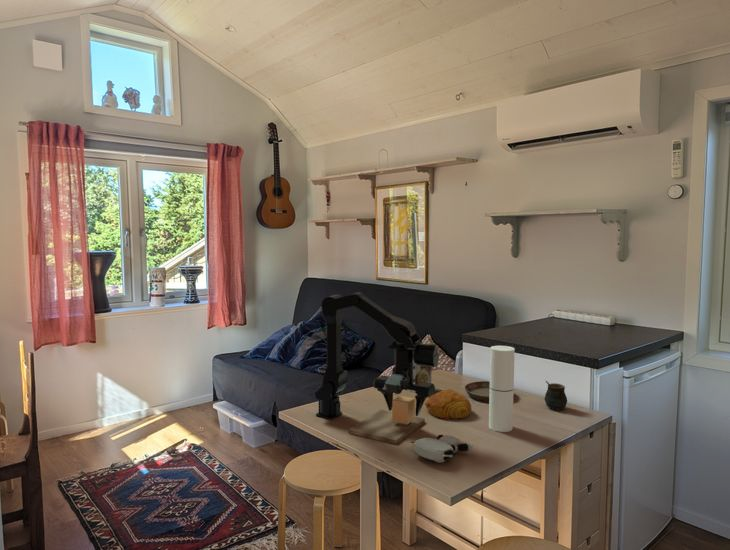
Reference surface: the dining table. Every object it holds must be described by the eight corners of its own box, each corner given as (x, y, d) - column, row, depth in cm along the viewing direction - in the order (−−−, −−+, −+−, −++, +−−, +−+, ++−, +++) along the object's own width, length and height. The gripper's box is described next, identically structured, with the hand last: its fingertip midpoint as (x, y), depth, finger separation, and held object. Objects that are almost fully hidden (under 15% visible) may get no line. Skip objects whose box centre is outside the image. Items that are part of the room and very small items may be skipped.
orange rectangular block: (392, 421, 164) (392, 400, 164) (399, 416, 169) (399, 395, 168) (407, 424, 162) (407, 403, 161) (414, 419, 166) (414, 398, 165)
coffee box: (419, 384, 210) (420, 344, 208) (431, 388, 205) (432, 347, 204) (403, 389, 204) (403, 347, 203) (415, 393, 199) (415, 350, 198)
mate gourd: (571, 410, 181) (572, 381, 180) (554, 413, 178) (554, 384, 177) (556, 403, 187) (557, 375, 186) (539, 406, 185) (540, 378, 184)
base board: (348, 433, 160) (348, 429, 160) (380, 413, 177) (380, 409, 177) (395, 444, 152) (395, 440, 152) (424, 422, 169) (424, 418, 169)
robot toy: (440, 444, 155) (405, 455, 144) (441, 429, 155) (406, 439, 144) (475, 457, 146) (440, 470, 136) (476, 441, 146) (441, 453, 135)
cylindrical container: (496, 433, 161) (497, 351, 158) (484, 424, 168) (486, 346, 165) (517, 430, 163) (519, 350, 160) (504, 422, 169) (506, 345, 167)
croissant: (458, 409, 188) (457, 386, 188) (477, 418, 173) (477, 393, 173) (419, 411, 184) (419, 388, 185) (436, 421, 169) (435, 396, 170)
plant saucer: (491, 407, 184) (491, 398, 184) (454, 394, 198) (454, 386, 198) (523, 397, 195) (523, 389, 194) (486, 386, 209) (486, 378, 209)
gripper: (364, 365, 161) (364, 415, 163) (420, 374, 152) (420, 427, 153) (382, 357, 171) (382, 404, 172) (436, 365, 161) (435, 415, 163)
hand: (403, 412), depth 165 cm, fingers open, 9 cm apart
